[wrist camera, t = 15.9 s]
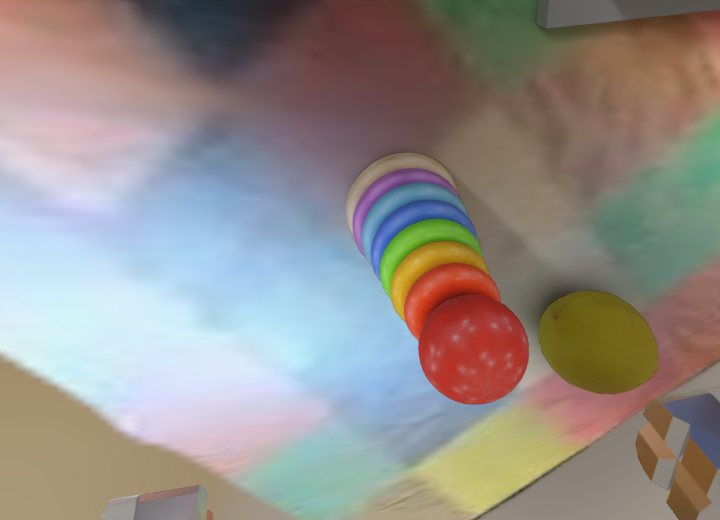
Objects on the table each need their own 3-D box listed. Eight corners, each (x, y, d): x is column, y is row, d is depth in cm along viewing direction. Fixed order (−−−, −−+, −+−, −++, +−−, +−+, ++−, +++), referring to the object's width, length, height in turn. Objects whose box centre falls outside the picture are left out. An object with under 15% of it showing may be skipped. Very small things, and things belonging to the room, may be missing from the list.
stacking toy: (467, 157, 40) (615, 325, 24) (434, 256, 44) (542, 455, 28) (358, 139, 38) (442, 309, 22) (332, 244, 42) (389, 451, 26)
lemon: (501, 314, 48) (543, 381, 41) (574, 249, 46) (631, 309, 39) (572, 368, 53) (620, 436, 47) (641, 313, 51) (702, 375, 44)
